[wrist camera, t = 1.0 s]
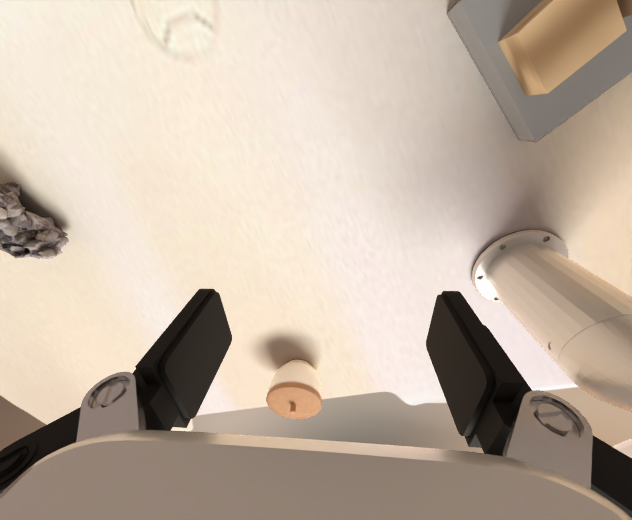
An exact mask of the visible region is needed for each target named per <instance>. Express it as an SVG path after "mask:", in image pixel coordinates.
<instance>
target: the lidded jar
mask: <svg viewBox="0 0 632 520" xmlns="http://www.w3.org/2000/svg"><path fill="white" fill-rule="evenodd" d="M321 395H322V390H321V382H320V378H319V376H318V374H317V372H316V371H315V369H314V368H313V367H312V366H311V365H310V364H309V363H308V362H306V361H304V360H299V359H295V360H291V361H289V362H287V363H286V364H284V365H283V366H282V367H280V368H279V369H278V371H277V372H276V373H275V375H274V377H273V379H272V382H271V385H270V388H269V392H268V394H267V399H266V401H267V404H268V406H269V408H270V409H271V410H272V411H274V412H275V413H277V414H279V415H281V416H284V417H288V418H294V419H303V418H308V417H312V416H314V415H315V414H317V413H318V412H319V411H320V409H321V406H322V399H321Z"/></svg>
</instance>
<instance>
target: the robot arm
mask: <svg viewBox="0 0 632 520" xmlns="http://www.w3.org/2000/svg"><path fill="white" fill-rule="evenodd" d="M568 258H569V257H568V249H567V247H566V245H565V244H564V242H563V241H562V240H561V239H559V238H558V237H556V236H555V235H553V234H551V233H548V232H545V231H541V230H525V231H519V232H516V233H512V234H510V235H507V236H505V237H503V238H501V239H499V240H497V241H496V242H494V243H493V244H491V245H490V246H489V247H488V248H487V249H486V250H485V251H484V252H483V253H482V254H481V255H480V256H479V258H478V259H477V261H476V263H475V265H474V267H473V271H472V281H473V285H474V287H475V288H476V290H477V291H478V292H479V293H480V294H481V295H482V296H483V297H485V298H486V299H488V300H491V301H494V302H498V303H503V304H504V305H505V307H506V308H507V309H508V310H509V311H510V312H511V313H512V314H513V316H514V317H515V318H516V319H517V320H518V321H519V322H520V323H521V324H522V326H523V327H524V328H525V329H526V330H527V331H528V332H529V333H530V334H531V336H532V337H533V338H534V339H535V340H536V341H537V342H538V343H539V345H540V346H541V347H542V348H543V349H544V350H545V351H546V352H547V353H548V355H549V356H550V357H551V358H552V359H553V360H554V361H555V362H556V363H557V365H558V366H559V367H560V368H561V369H562V370H563V371H564V372H565V373H566V374H567V376H568V377H569V378H570V379H571V380H572V381H573V382H574V383H575V384H576V385H577V386H579V387H580V388H581V389H582V390H584V391H585V392H587V393H588V394H590V395H591V396H593V397H595V398H597V399H599V400H601V401H603V402H606V403H608V404H611V405H613V406H616V407H619V408H622V409H625V410H628V411H631V412H632V297H631V296H629V295H627V294H626V293H624V292H622V291H621V290H619V289H617V288H616V287H614V286H612V285H611V284H609V283H608V282H606V281H604V280H603V279H601V278H599V277H598V276H596V275H594V274H593V273H591V272H589V271H588V270H586V269H585V268H583V267H581V266H580V265H578V264H576V263H575V262H573V261H571V260H570V259H568ZM231 341H232V335H231V331H230V328H229V325H228V321H227V318H226V315H225V311H224V308H223V305H222V302H221V298H220V295H219V293H218V292H216V291H215V290H214V289H199V290H198V291H197V292H196V294H195V295H194V296H193V297H192V298H191V300H190V301H189V302H188V303H187V305H186V306H185V307H184V308H183V309H182V311H181V312H180V313H179V314H178V315H177V317H176V318H175V319H174V320H173V322H172V323H171V324H170V325H169V326H168V328H167V329H166V330H165V331H164V332H163V334H162V335H161V336H160V337H159V339H158V340H157V341H156V342H155V343H154V345H153V346H152V347H151V348H150V349H149V351H148V352H147V353H146V354H145V356H144V357H143V358H142V359H141V360H140V362H139V363H138V364H137V365H136V366H135V367H136V370H135V371H134V372H133V374H132V373H130V372H120V373H116V374H113V375H110V376H108V377H107V378H105V379H103V380H101V381H100V382H99V383H97V384H96V385H94V386H93V387H92V388H91V389H90V390H89V391H88V393H87V394H86V396H85V397H84V399H83V401H82V404H81V407H80V408H78V409H76V410H74V411H73V412H71V413H69V414H67V415H65V416H63V417H61V418H59V419H57V420H55V421H54V422H52V423H50V424H48V425H46V426H44V427H42V428H40V429H38V430H37V431H35V432H33V433H31V434H29V435H27V436H25V437H23V438H21V439H20V440H18V441H16V442H14V443H12V444H11V445H9V446H8V447H6V448H4V449H3V450H2V451H0V520H632V438H631V439H628V440H626V441H624V442H621V443H619V444H616V445H614V446H610V445H608V444H607V443H605V442H603V441H601V440H600V439H598V438H596V437H595V436H593V435H592V429H591V427H590V425H589V423H588V422H587V420H586V418H585V417H584V416H583V415H582V414H581V413H580V412H579V411H578V410H577V409H576V408H575V407H573V406H572V405H571V404H570V403H568V402H567V401H565V400H563V399H562V398H560V397H558V396H555V395H553V394H551V393H548V392H544V391H532V390H531V388H530V387H529V386H528V384H527V383H526V381H525V380H524V379H523V377H522V376H521V374H520V373H519V371H518V370H517V369H516V367H515V366H514V364H513V363H512V362H511V360H510V359H509V357H508V356H507V354H506V353H505V352H504V350H503V349H502V347H501V346H500V345H499V343H498V342H497V340H496V339H495V338H494V336H493V335H492V333H491V332H490V330H489V329H488V328H487V327H486V326H484V325H483V324H482V323H481V321H480V320H479V318H478V317H477V316H476V314H475V313H474V311H473V310H472V308H471V307H470V306H469V304H468V303H467V301H466V300H465V298H464V297H463V295H462V294H461V293H460V292H459V291H443V292H442V294H441V295H438V296H437V299H436V303H435V307H434V311H433V315H432V319H431V324H430V328H429V332H428V336H427V340H426V347H427V351H428V353H429V356H430V359H431V361H432V364H433V366H434V369H435V372H436V374H437V377H438V380H439V382H440V385H441V388H442V390H443V393H444V396H445V398H446V401H447V403H448V406H449V409H450V411H451V414H452V416H453V419H454V422H455V425H456V427H457V430H458V432H459V434H460V435H461V436H465V438H466V441H467V443H468V446H469V447H481V448H482V449H483V451H484V454H483V453H475V452H466V451H455V450H444V449H433V448H422V447H409V446H395V445H381V444H368V443H354V442H339V441H326V440H311V439H296V438H282V437H267V436H252V435H236V434H220V433H204V432H186V431H170V430H171V429H172V427H182V428H187V425H188V423H189V421H190V419H193V418H194V417H195V416H196V414H197V412H198V410H199V408H200V406H201V404H202V402H203V400H204V398H205V396H206V394H207V392H208V390H209V387H210V385H211V383H212V381H213V379H214V377H215V375H216V373H217V371H218V369H219V367H220V365H221V363H222V361H223V359H224V356H225V354H226V352H227V350H228V348H229V346H230V344H231Z"/></svg>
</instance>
